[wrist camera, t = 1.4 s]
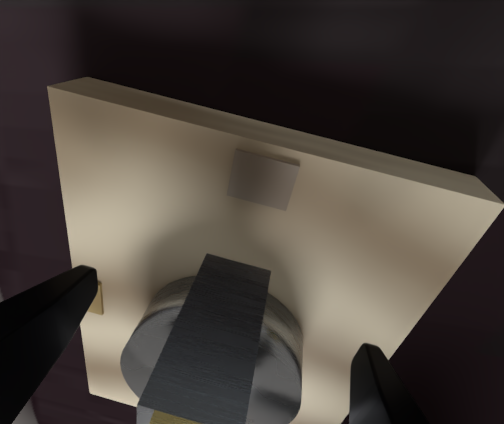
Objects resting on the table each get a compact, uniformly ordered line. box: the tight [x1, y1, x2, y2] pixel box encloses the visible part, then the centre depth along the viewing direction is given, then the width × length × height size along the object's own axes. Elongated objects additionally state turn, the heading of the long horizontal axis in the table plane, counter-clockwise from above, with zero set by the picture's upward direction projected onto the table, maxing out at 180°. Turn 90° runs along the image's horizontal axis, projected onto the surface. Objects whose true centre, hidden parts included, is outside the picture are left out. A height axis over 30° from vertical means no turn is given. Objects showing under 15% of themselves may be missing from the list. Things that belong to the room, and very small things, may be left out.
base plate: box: [47, 77, 504, 424], centre depth 15 cm, size 18×14×2 cm
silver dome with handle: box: [120, 253, 303, 424], centre depth 11 cm, size 13×7×7 cm, turn 168°
